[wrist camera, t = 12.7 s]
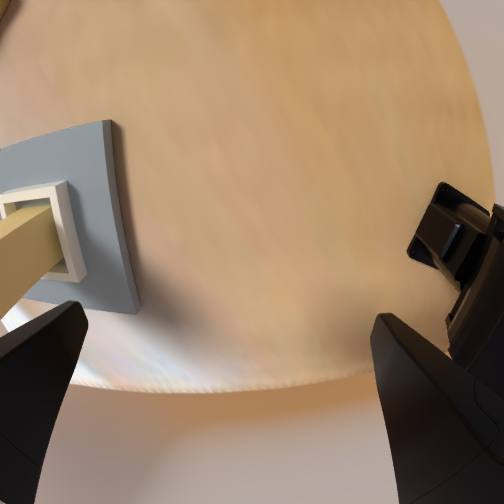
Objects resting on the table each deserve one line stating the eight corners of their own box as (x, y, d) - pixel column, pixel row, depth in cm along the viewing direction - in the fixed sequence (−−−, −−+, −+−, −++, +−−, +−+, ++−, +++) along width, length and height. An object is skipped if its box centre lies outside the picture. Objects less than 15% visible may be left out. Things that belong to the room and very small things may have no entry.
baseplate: (110, 119, 17) (90, 122, 15) (141, 306, 25) (130, 325, 22) (-11, 153, 18) (-29, 160, 16) (25, 291, 25) (12, 304, 23)
